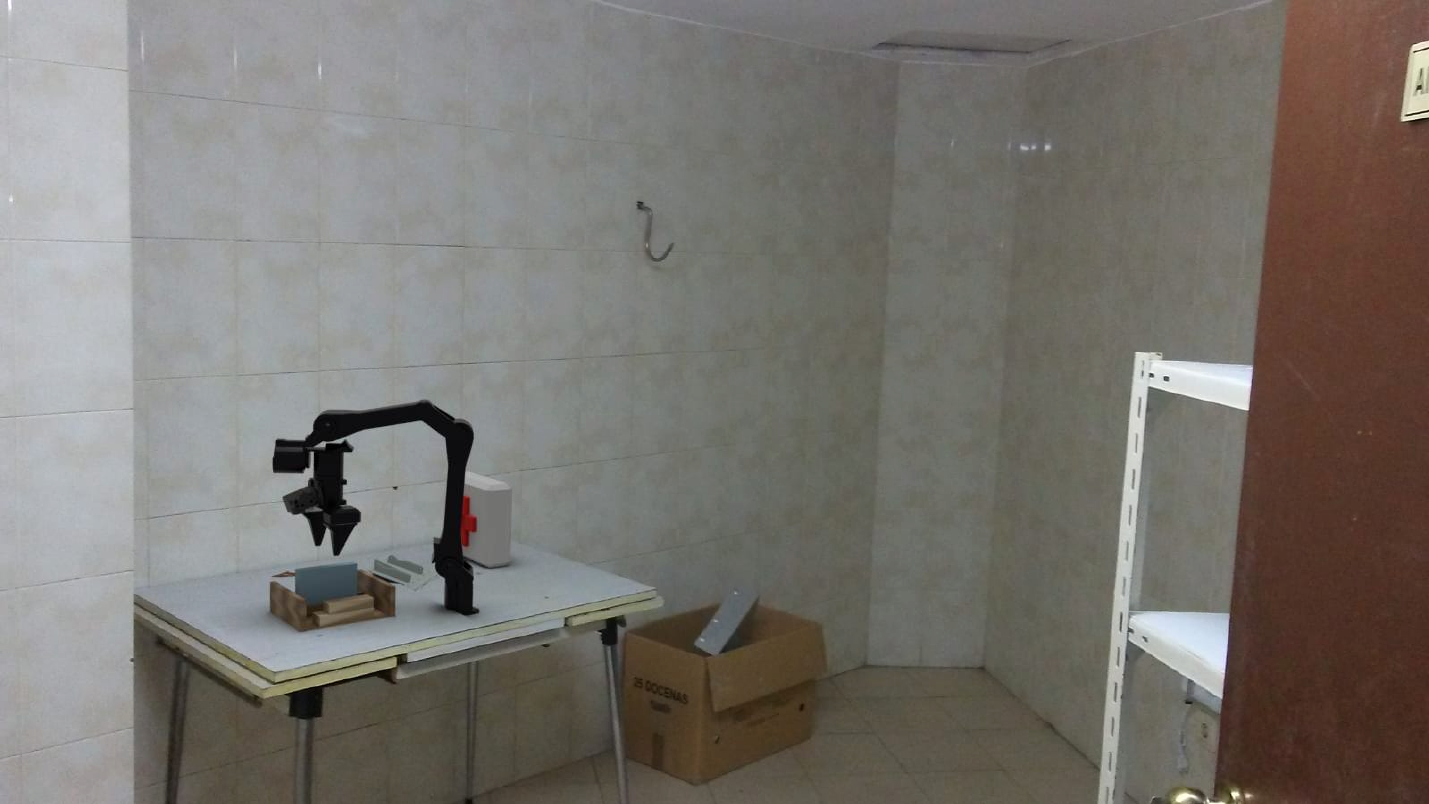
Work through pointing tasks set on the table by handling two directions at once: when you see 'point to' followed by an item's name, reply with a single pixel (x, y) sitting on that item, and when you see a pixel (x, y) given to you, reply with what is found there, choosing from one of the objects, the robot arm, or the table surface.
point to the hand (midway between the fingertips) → (326, 550)
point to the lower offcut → (341, 617)
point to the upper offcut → (348, 604)
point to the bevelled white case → (486, 520)
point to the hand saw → (285, 574)
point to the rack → (301, 614)
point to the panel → (326, 582)
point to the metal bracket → (402, 572)
